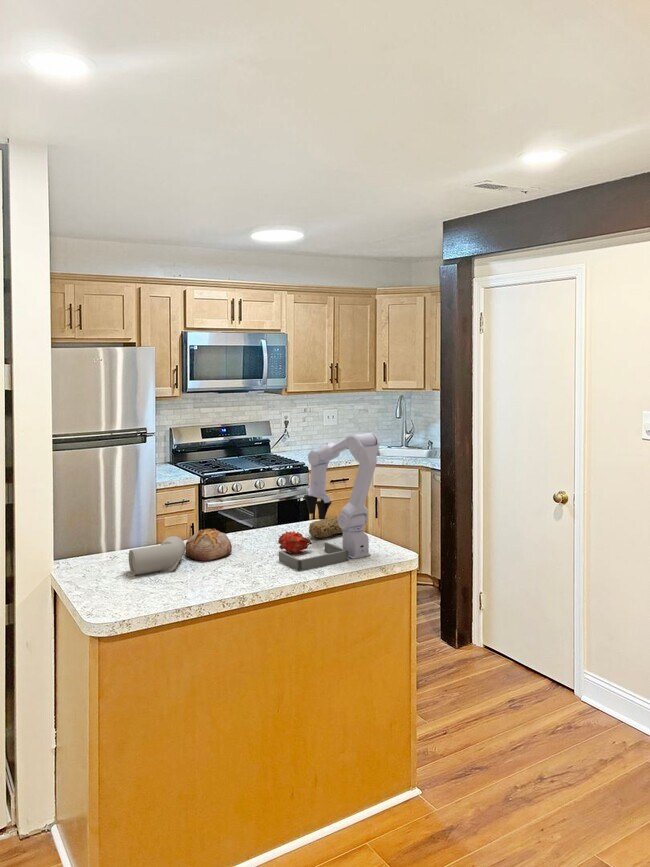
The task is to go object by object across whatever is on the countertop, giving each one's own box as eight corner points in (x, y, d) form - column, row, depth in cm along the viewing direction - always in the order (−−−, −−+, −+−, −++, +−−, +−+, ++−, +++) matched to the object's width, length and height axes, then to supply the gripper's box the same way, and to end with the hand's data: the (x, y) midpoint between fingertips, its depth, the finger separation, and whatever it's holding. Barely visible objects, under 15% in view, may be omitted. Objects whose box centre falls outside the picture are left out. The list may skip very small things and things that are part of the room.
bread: (184, 566, 241) (181, 538, 239) (187, 549, 260) (185, 523, 259) (232, 561, 243) (230, 533, 241) (232, 544, 262) (229, 518, 261)
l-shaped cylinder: (181, 574, 226) (191, 555, 246) (173, 543, 224) (184, 526, 244) (128, 586, 226) (142, 567, 246) (119, 555, 224) (134, 538, 244)
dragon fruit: (275, 555, 253) (308, 560, 253) (275, 548, 246) (309, 553, 246) (280, 533, 257) (312, 538, 257) (279, 525, 250) (312, 530, 250)
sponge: (344, 531, 286) (299, 526, 277) (350, 513, 284) (304, 507, 276) (357, 545, 274) (310, 540, 266) (363, 526, 272) (316, 521, 264)
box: (348, 560, 242) (348, 550, 242) (298, 571, 231) (298, 560, 231) (326, 551, 253) (326, 542, 252) (278, 561, 242) (278, 551, 241)
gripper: (299, 477, 266) (298, 512, 268) (318, 486, 254) (317, 523, 256) (315, 476, 269) (314, 510, 272) (335, 485, 257) (333, 520, 260)
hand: (316, 516), depth 264 cm, fingers open, 7 cm apart
